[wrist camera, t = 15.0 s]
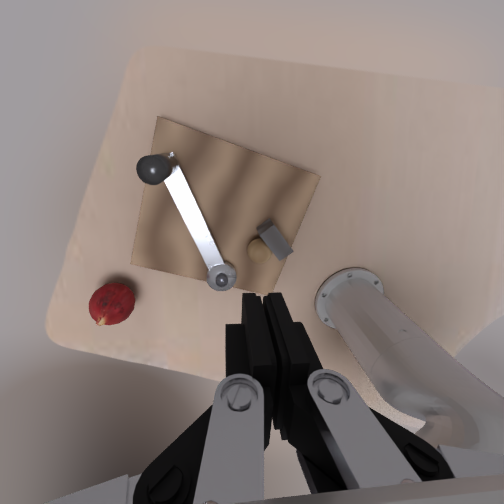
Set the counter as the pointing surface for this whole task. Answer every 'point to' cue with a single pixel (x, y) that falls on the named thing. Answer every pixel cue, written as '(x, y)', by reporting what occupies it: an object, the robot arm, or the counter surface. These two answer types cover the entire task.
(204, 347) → the counter surface
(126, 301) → the onion
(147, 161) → the lever
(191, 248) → the board
